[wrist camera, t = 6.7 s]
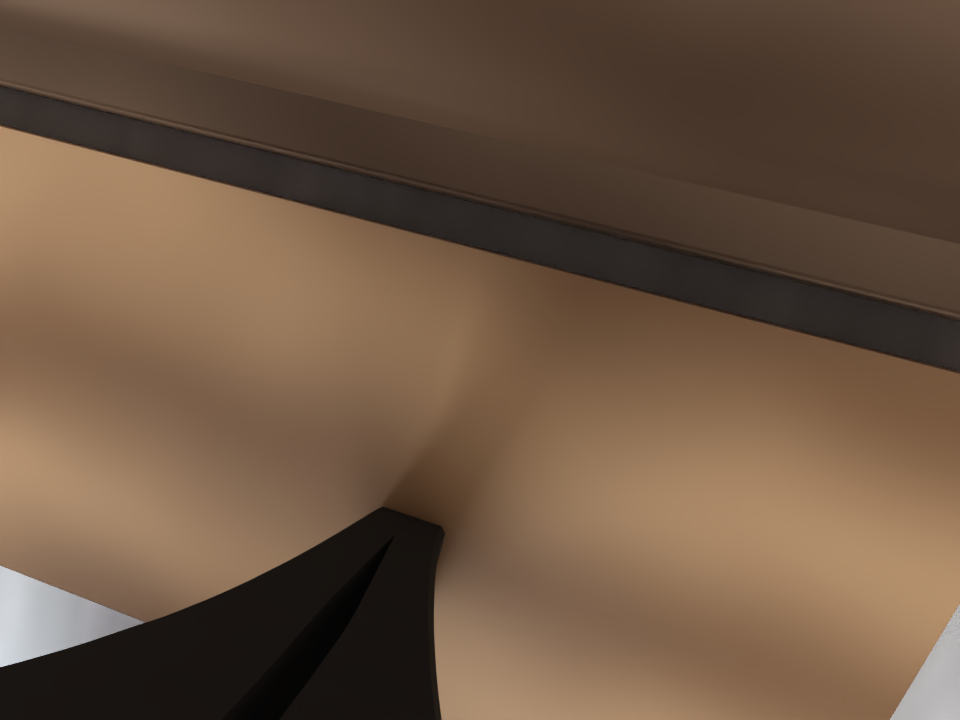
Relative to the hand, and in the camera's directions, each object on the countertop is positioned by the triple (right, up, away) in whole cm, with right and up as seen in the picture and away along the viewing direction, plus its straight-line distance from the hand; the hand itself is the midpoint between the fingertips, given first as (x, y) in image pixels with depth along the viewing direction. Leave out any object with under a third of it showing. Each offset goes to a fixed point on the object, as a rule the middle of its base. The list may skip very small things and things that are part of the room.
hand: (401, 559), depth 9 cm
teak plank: (-3, +2, +2) cm, 4 cm away
